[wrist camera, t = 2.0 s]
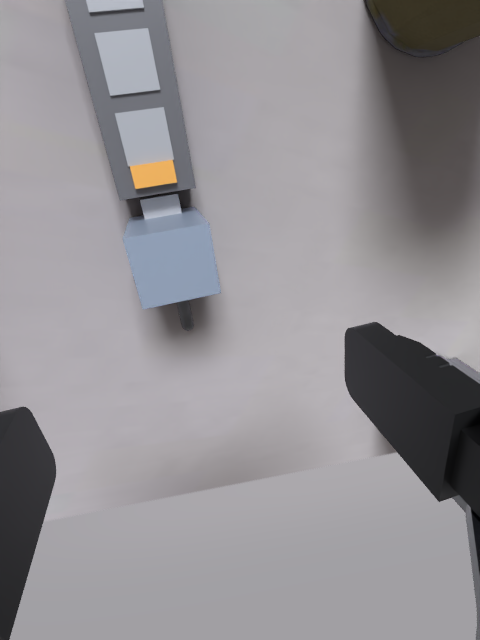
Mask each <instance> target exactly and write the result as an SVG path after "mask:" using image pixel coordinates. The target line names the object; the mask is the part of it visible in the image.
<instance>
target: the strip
mask: <svg viewBox="0 0 480 640" xmlns="http://www.w3.org/2000/svg"><path fill="white" fill-rule="evenodd" d="M65 2H66V6H67V10H68V13H69V17H70V21H71V24H72V28H73V31H74V35H75V39H76V42H77V46H78V50H79V53H80V57H81V61H82V64H83V68H84V72H85V75H86V79H87V83H88V86H89V90H90V93H91V97H92V101H93V104H94V108H95V112H96V115H97V119H98V123H99V126H100V130H101V134H102V137H103V141H104V144H105V148H106V152H107V155H108V159H109V163H110V166H111V170H112V174H113V177H114V181H115V185H116V188H117V192H118V196H119V199H120V200H125V199H131V198H137V197H144V196H150V195H156V194H162V193H168V192H174V191H180V190H186V189H192V188H196V186H195V181H194V175H193V170H192V164H191V159H190V153H189V147H188V142H187V136H186V131H185V125H184V119H183V114H182V108H181V103H180V97H179V92H178V86H177V80H176V75H175V69H174V64H173V58H172V53H171V47H170V41H169V36H168V30H167V25H166V19H165V13H164V8H163V2H162V0H65Z"/></svg>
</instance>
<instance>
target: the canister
mask: <svg viewBox="0 0 480 640" xmlns="http://www.w3.org/2000/svg"><path fill="white" fill-rule="evenodd" d="M366 3H367V7H368V9H369V11H370V13H371V15H372V17H373V19H374V21H375V23H376V25H377V27H378V29H379V31H380V32H381V34H382V35H383V36H384V38H385V39H386V40H387V41H388V42H389V43H390V44H391V45H393V46H394V47H395V48H396V49H398V50H400V51H403V52H405V53H408V54H410V55H413V56H415V57H425V56H435V55H439V54H442V53H445V52H447V51H449V50H451V49H452V48H454V47H456V46H458V45H459V44H461V43H462V42H463V41H466V40H469V39H471V38H474V37H477V36H479V35H480V0H366Z"/></svg>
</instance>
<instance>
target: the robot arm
mask: <svg viewBox="0 0 480 640" xmlns="http://www.w3.org/2000/svg"><path fill="white" fill-rule="evenodd" d="M345 382H346V386H347V389H348V391H349V394H350V395H351V397H352V399H353V400H354V401H355V402H356V404H357V405H358V406H359V407H360V408H361V409H362V411H363V412H364V413H365V414H366V415H367V417H368V418H369V419H370V420H371V421H372V423H373V424H374V425H375V426H376V427H377V429H378V430H379V431H380V432H381V433H382V434H383V436H384V437H385V438H386V439H387V440H388V442H389V443H390V444H391V445H392V446H393V448H394V449H395V450H396V451H397V452H398V454H400V456H401V457H402V458H403V459H404V461H405V462H406V463H407V464H408V465H409V466H410V468H411V469H412V470H413V471H414V473H415V474H416V475H417V476H418V477H419V479H420V480H421V481H422V482H423V483H424V484H425V486H426V487H427V488H428V489H429V490H430V492H431V493H432V494H433V495H434V496H435V498H436V499H437V500H438V501H439V502H440V501H443V500H446V499H449V498H453V499H454V500H455V501H456V502H457V504H458V505H459V506H460V507H461V508H462V509H463V510H464V512H465V513H466V522H467V531H468V539H469V547H470V556H471V563H472V573H473V581H474V590H475V598H476V607H477V631H476V640H480V373H479V372H477V371H476V370H474V369H473V368H471V367H470V366H468V365H467V364H465V363H464V362H462V361H461V360H459V359H458V358H454V359H446V358H444V357H442V356H440V355H436V353H434V352H433V351H431V350H430V349H429V348H427V347H426V346H424V345H423V344H421V343H420V342H417V341H414V340H411V339H409V338H406V337H403V336H400V335H398V336H396V335H394V334H393V333H392V332H390V331H389V330H388V329H386V328H385V327H383V326H382V325H381V324H379V323H377V322H372V323H368V324H364V325H360V326H356V327H352V328H348V329H347V330H346V333H345ZM55 478H56V464H55V459H54V455H53V453H52V451H51V449H50V447H49V445H48V443H47V441H46V439H45V437H44V435H43V434H42V432H41V430H40V428H39V426H38V424H37V422H36V420H35V418H34V416H33V414H32V413H31V411H30V410H29V409H28V408H26V407H19V408H15V409H11V410H7V411H3V412H0V640H9V639H10V635H11V632H12V628H13V625H14V621H15V618H16V614H17V610H18V607H19V604H20V600H21V596H22V593H23V590H24V587H25V583H26V580H27V576H28V572H29V569H30V565H31V562H32V559H33V555H34V552H35V548H36V545H37V541H38V538H39V534H40V531H41V527H42V524H43V521H44V517H45V514H46V510H47V507H48V503H49V500H50V496H51V493H52V489H53V486H54V482H55Z"/></svg>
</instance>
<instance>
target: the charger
mask: <svg viewBox="0 0 480 640" xmlns="http://www.w3.org/2000/svg"><path fill="white" fill-rule="evenodd" d="M140 202H141V206H142V210H143V214H144V215H143V216H138V217H132V218H130V219H129V222H128V225H127V228H126V231H125V234H124V236H123V242H124V245H125V249H126V252H127V256H128V259H129V263H130V266H131V270H132V273H133V277H134V280H135V284H136V288H137V291H138V295H139V298H140V302H141V305H142V309H148V308H153V307H157V306H162V305H167V304H171V303H176V302H177V306H178V310H179V315H180V319H181V323H182V327H183V329H185V330H187V331H189V330H191V329H192V328H193V326H194V323H193V318H192V314H191V309H190V305H189V300H190V299H195V298H200V297H204V296H209V295H214V294H219V293H221V290H220V284H219V278H218V272H217V266H216V261H215V255H214V249H213V243H212V237H211V231H210V225H209V222H208V221H207V220H206V219H205V218H204V217H203V216H202V215H201V214H200V212H199V211H198V210H197V209H196V208H195V207H190V208H184V209H181V207H180V202H179V197H178V193H174V194H168V195H162V196H156V197H150V198H144V199H140Z"/></svg>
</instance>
